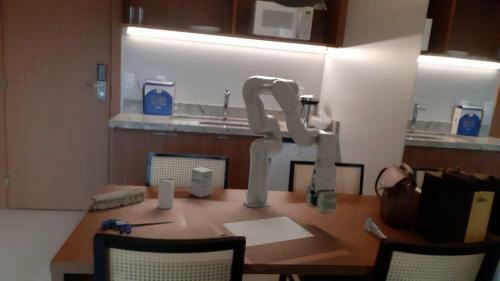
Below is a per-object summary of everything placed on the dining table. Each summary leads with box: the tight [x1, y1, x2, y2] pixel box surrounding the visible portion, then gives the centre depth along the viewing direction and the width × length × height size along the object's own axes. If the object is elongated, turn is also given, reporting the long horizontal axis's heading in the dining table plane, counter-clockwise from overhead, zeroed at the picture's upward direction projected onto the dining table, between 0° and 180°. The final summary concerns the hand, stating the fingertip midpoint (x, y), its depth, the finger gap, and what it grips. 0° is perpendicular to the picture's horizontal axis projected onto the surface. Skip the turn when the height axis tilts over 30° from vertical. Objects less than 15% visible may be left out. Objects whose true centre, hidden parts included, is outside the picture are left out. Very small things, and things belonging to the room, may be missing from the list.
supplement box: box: [189, 166, 214, 198], centre depth 183 cm, size 7×7×13 cm
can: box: [157, 177, 175, 210], centre depth 163 cm, size 6×6×12 cm
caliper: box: [364, 216, 387, 238], centre depth 151 cm, size 20×1×6 cm, turn 17°
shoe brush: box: [91, 187, 146, 210], centre depth 162 cm, size 24×8×5 cm, turn 139°
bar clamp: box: [100, 218, 176, 235], centre depth 143 cm, size 32×2×10 cm
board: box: [222, 215, 315, 247], centre depth 147 cm, size 20×30×2 cm, turn 119°
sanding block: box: [304, 188, 338, 215], centre depth 156 cm, size 12×6×8 cm, turn 28°
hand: (319, 203), depth 156 cm, fingers closed on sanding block, 6 cm apart
